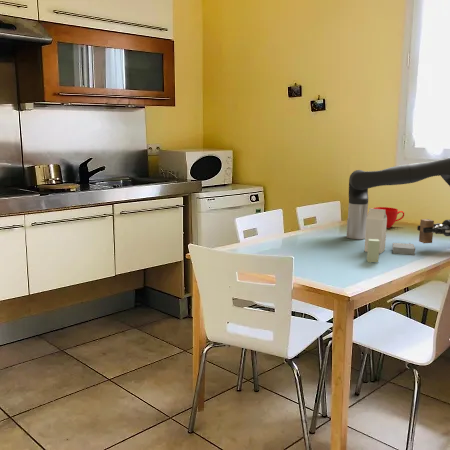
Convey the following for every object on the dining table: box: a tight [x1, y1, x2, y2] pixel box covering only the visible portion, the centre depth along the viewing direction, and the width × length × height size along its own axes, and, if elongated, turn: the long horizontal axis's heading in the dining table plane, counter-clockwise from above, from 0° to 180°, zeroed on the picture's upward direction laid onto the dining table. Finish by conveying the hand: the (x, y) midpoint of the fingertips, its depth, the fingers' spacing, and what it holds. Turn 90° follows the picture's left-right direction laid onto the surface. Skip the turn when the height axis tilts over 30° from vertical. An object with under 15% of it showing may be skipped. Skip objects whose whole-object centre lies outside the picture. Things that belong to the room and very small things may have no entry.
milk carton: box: [364, 207, 387, 254], centre depth 229 cm, size 7×7×19 cm
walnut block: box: [418, 218, 435, 244], centre depth 232 cm, size 4×4×10 cm
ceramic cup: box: [372, 206, 405, 229], centre depth 284 cm, size 13×17×10 cm
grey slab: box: [392, 242, 416, 256], centre depth 231 cm, size 9×9×3 cm
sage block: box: [366, 239, 380, 263], centre depth 214 cm, size 4×4×9 cm
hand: (420, 229), depth 231 cm, fingers closed on walnut block, 4 cm apart
